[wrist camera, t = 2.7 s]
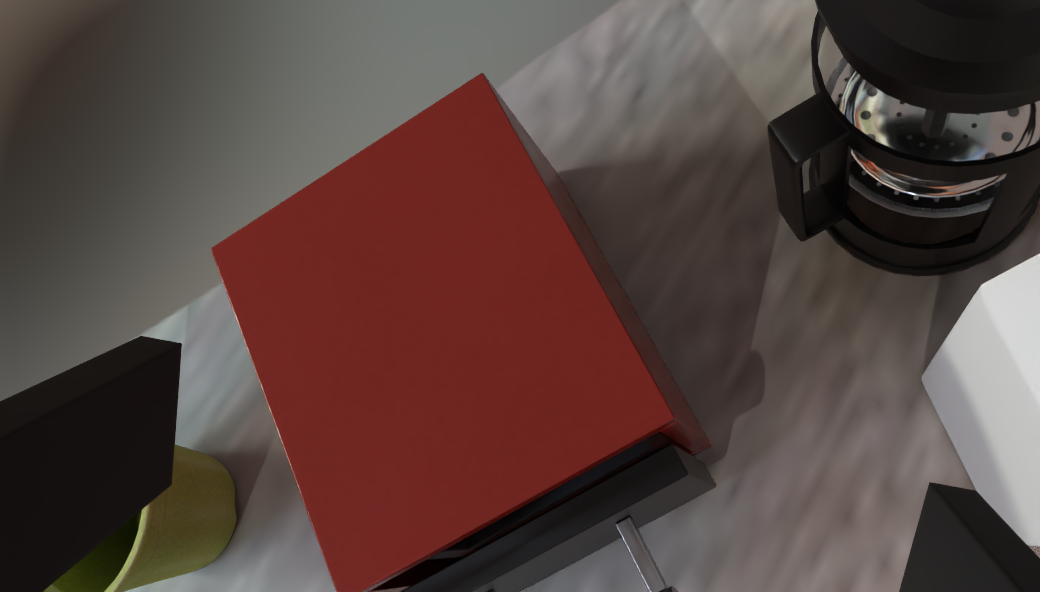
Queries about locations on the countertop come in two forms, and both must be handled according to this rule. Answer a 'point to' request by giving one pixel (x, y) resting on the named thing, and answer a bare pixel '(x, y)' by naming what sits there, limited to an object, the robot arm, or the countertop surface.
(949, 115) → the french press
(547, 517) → the black drawer
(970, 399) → the milk carton
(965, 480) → the countertop surface
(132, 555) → the plant pot
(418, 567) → the red drawer cabinet
